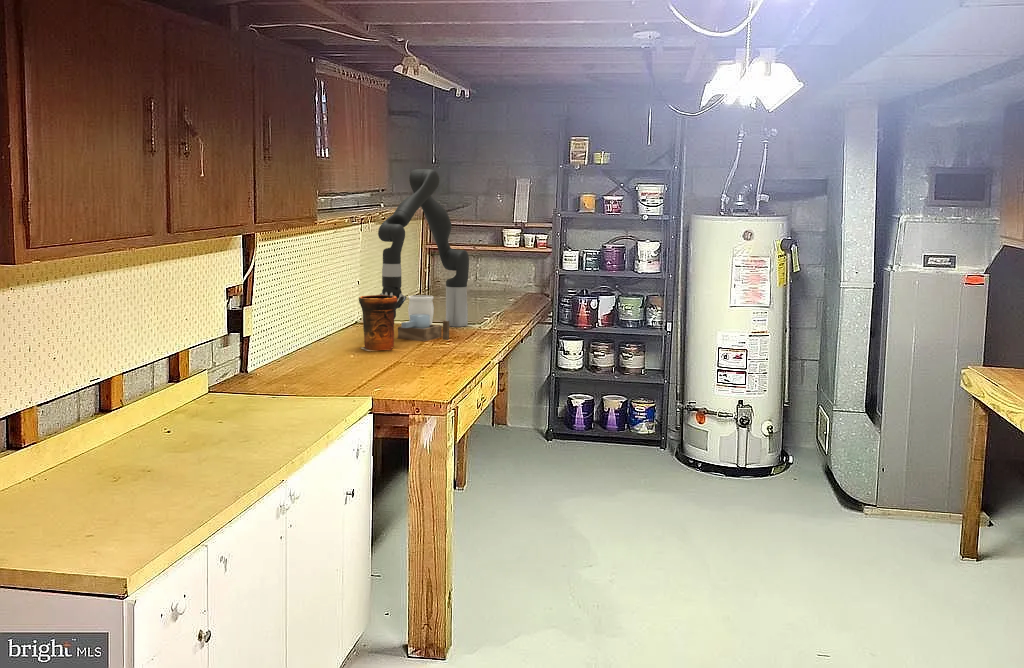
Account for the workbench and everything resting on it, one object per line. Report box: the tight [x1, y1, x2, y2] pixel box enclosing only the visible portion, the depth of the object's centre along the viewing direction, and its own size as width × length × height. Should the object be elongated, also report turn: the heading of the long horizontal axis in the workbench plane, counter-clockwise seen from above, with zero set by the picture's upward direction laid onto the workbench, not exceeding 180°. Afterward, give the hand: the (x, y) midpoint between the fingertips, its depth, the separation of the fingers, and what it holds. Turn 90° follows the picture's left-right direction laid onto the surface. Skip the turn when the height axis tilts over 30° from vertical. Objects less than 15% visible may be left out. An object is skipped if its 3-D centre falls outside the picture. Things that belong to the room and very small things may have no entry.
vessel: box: [358, 294, 397, 352], centre depth 372 cm, size 14×14×20 cm
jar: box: [407, 294, 435, 325], centre depth 415 cm, size 11×10×15 cm
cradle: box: [396, 320, 450, 342], centre depth 394 cm, size 14×19×8 cm
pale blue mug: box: [400, 314, 430, 329], centre depth 392 cm, size 15×8×9 cm, turn 151°
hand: (391, 318), depth 390 cm, fingers closed
